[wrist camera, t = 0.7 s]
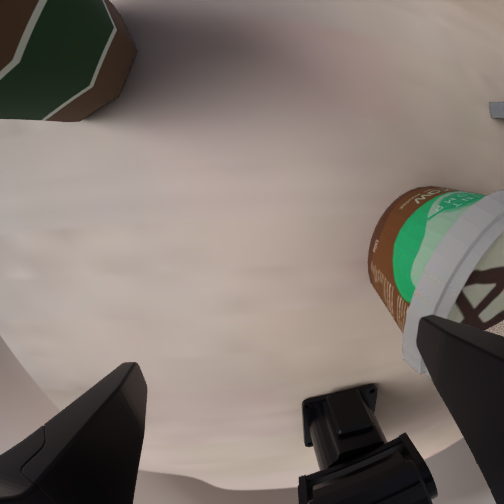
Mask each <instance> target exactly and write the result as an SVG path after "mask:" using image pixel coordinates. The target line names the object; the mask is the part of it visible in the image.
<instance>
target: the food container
mask: <svg viewBox="0 0 504 504" xmlns="http://www.w3.org/2000/svg"><path fill="white" fill-rule="evenodd" d="M368 272H369V277H370V281H371V284H372V285H373V287H374V288H375V290H376V291H377V293H378V294H379V296H380V298H381V299H382V301H383V302H384V304H385V305H386V307H387V309H388V310H389V312H390V313H391V315H392V317H393V318H394V320H395V322H396V323H397V325H398V326H399V328H400V330H401V331H402V333H403V346H402V348H403V360H404V361H405V362H406V363H408V364H409V365H410V366H411V367H412V368H414V369H415V370H416V371H417V372H418V373H420V374H422V373H424V372H425V373H426V374H427V375H428V376H429V377H430V379H431V376H430V374H429V372H428V370H427V368H426V365H425V363H424V361H423V359H422V357H421V355H420V353H419V351H418V348H417V345H416V337H417V331H418V323H419V320H420V318H421V317H424V316H427V315H436V316H439V317H442V318H445V319H449V320H452V321H455V322H458V323H461V324H465V325H468V326H471V327H474V328H477V329H480V330H486V329H488V328H490V327H492V326H494V325H495V324H497V323H499V322H501V321H502V320H504V190H499V191H496V192H494V193H491V194H489V195H487V196H486V195H481V194H475V193H470V192H464V191H458V190H452V189H445V188H439V187H432V186H431V187H419V188H416V189H413V190H410V191H408V192H406V193H405V194H403V195H401V196H400V197H399V198H398V199H396V200H395V201H394V202H393V203H392V204H391V205H390V206H389V207H388V208H387V209H386V211H385V212H384V214H383V215H382V217H381V218H380V220H379V222H378V224H377V226H376V228H375V230H374V233H373V236H372V239H371V243H370V247H369V255H368ZM431 380H432V379H431Z"/></svg>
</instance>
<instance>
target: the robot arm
mask: <svg viewBox="0 0 504 504" xmlns="http://www.w3.org/2000/svg"><path fill="white" fill-rule="evenodd" d="M416 345H417V348H418V351H419V353H420V355H421V357H422V359H423V361H424V363H425V365H426V368H427V370H428V372H429V374H430V376H431V379H432V381H433V383H434V385H435V387H436V389H437V390H438V392H439V394H440V396H441V397H442V399H443V401H444V402H445V404H446V406H447V408H448V409H449V411H450V413H451V415H452V417H453V418H454V420H455V422H456V424H457V426H458V427H459V429H460V431H461V433H462V435H463V437H464V438H465V440H466V442H467V444H468V446H469V448H470V450H471V452H472V453H473V456H474V458H475V460H476V461H477V463H478V465H479V467H480V469H481V471H482V473H483V476H484V478H485V480H486V481H487V484H488V486H489V488H490V490H491V493H492V495H493V497H494V499H495V501H496V504H504V337H503V336H500V335H496V334H493V333H490V332H487V331H484V330H480V329H477V328H474V327H471V326H468V325H465V324H461V323H458V322H455V321H452V320H449V319H445V318H442V317H439V316H436V315H427V316H424V317H421V318H420V320H419V323H418V331H417V337H416ZM376 397H377V387H376V385H375V384H370V385H366V386H362V387H358V388H355V389H351V390H346V391H342V392H338V393H334V394H329V395H325V396H320V397H315V398H311V399H306V400H304V401H303V402H302V416H303V431H304V443H305V446H306V447H312V446H314V450H315V454H316V457H317V461H318V465H319V469H320V471H318V472H316V473H313V474H310V475H307V476H306V475H304V476H301V477H299V485H298V497H299V504H432V501H431V500H432V499H434V498H436V497H437V496H438V493H437V488H436V485H435V482H434V479H433V477H432V475H431V473H430V470H429V468H428V467H427V465H426V463H425V461H424V460H423V458H422V457H421V455H420V454H419V452H418V451H417V449H416V448H415V446H414V445H413V443H412V441H411V440H410V438H409V437H408V435H407V434H406V433H403V434H401V435H399V437H398V438H396V439H394V440H392V441H390V442H387V440H386V438H385V436H384V434H383V432H382V430H381V428H380V426H379V423H378V421H377V419H376V417H375V415H374V411H375V404H376ZM146 402H147V384H146V382H145V379H144V377H143V374H142V372H141V369H140V366H139V365H138V363H136V362H125V363H122V364H121V365H120V366H119V367H117V368H116V369H115V370H113V371H112V372H111V373H110V374H108V375H107V376H106V377H104V378H103V379H102V380H101V381H99V382H98V383H97V384H96V385H94V386H93V387H92V388H90V389H89V390H88V391H87V392H85V393H84V394H83V395H81V396H80V397H79V398H78V399H76V400H75V401H74V402H72V403H71V404H70V405H69V406H67V407H66V408H65V409H63V410H62V411H61V412H60V413H58V414H57V415H56V416H54V417H53V418H52V419H51V420H49V421H48V422H47V423H45V424H44V425H45V426H41V427H40V428H39V429H38V430H36V431H35V432H34V433H32V434H31V435H30V436H28V437H27V438H26V439H24V440H23V441H21V442H20V443H18V444H17V445H15V446H14V447H12V448H11V449H9V450H8V451H6V452H4V453H3V454H1V455H0V504H133V499H134V492H135V486H136V480H137V473H138V467H139V462H140V456H141V450H142V445H143V439H144V431H145V416H146ZM308 404H309V405H308Z"/></svg>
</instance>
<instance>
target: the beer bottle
mask: <svg viewBox="0 0 504 504" xmlns="http://www.w3.org/2000/svg"><path fill="white" fill-rule="evenodd" d="M136 53H137V50H136V48H135V46H134V43H133V41H132V39H131V37H130V35H129V32H128V30H127V28H126V26H125V24H124V21H123V19H122V17H121V15H120V14H119V13H118V11H117V10H116V8H115V7H114V5H113V4H112V3H111V2H110V1H109V0H0V119H24V120H45V121H60V122H77V121H81V120H82V119H84V118H85V117H87V116H88V115H90V114H91V113H93V112H94V111H96V110H97V109H99V108H101V107H102V106H104V105H105V104H107V103H109V102H110V101H112V100H114V99H115V98H117V97H119V95H120V92H121V90H122V87H123V85H124V82H125V79H126V77H127V74H128V72H129V70H130V67H131V65H132V62H133V60H134V58H135V55H136Z"/></svg>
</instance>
